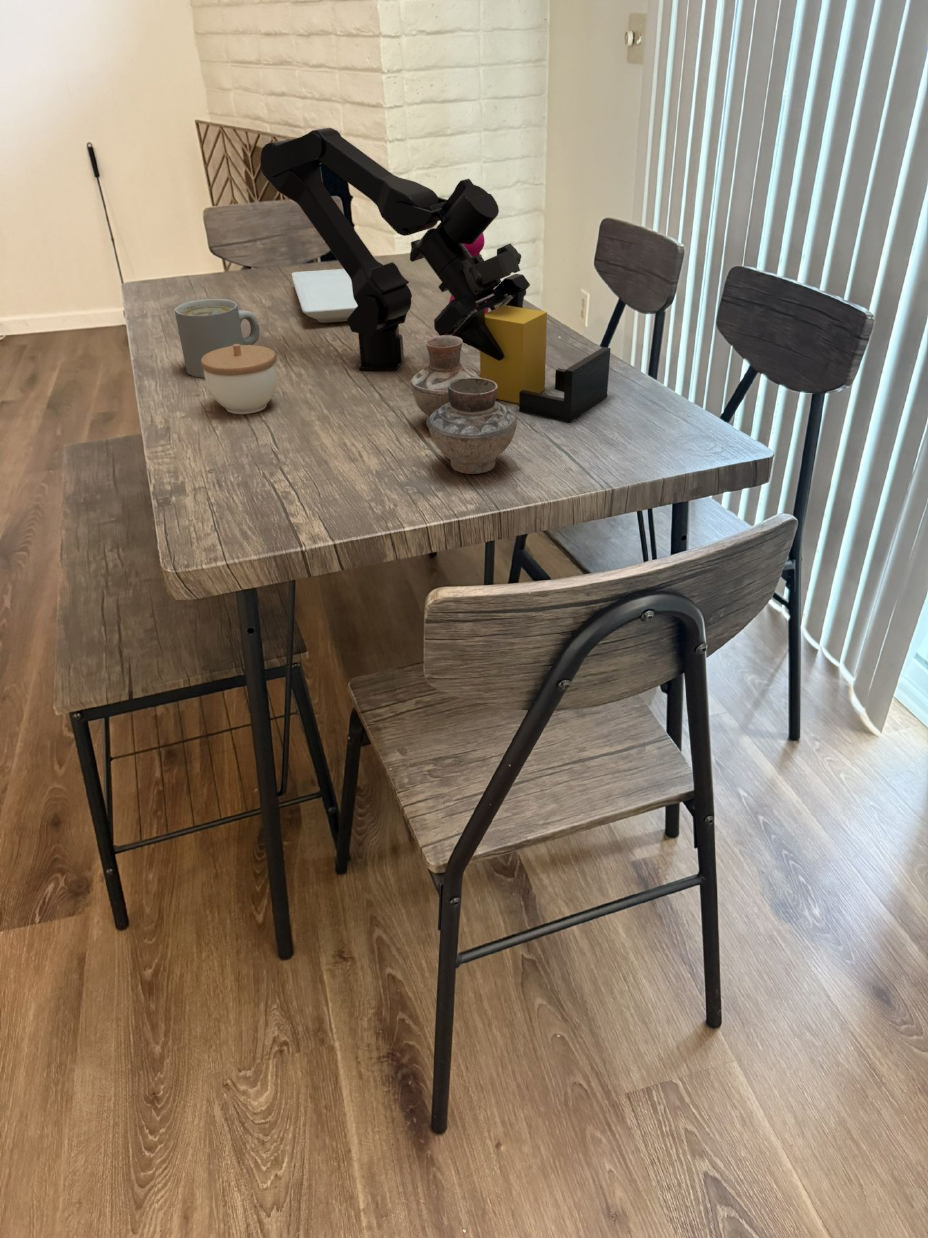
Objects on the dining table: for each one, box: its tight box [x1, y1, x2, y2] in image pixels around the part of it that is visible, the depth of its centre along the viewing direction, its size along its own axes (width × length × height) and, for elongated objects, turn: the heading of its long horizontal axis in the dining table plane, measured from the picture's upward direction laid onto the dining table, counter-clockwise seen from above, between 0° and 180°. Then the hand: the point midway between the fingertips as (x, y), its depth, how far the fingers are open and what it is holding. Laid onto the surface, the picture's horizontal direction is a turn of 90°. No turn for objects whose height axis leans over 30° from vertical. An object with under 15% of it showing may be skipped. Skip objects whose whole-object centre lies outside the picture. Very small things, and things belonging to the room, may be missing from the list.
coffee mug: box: [174, 298, 260, 379], centre depth 148 cm, size 13×10×10 cm
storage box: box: [479, 305, 548, 405], centre depth 134 cm, size 8×7×12 cm
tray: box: [291, 268, 358, 324], centre depth 179 cm, size 17×32×4 cm, turn 13°
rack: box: [518, 346, 611, 423], centre depth 131 cm, size 8×12×8 cm
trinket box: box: [201, 344, 278, 415], centre depth 132 cm, size 11×11×9 cm
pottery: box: [409, 335, 518, 475], centre depth 118 cm, size 11×25×12 cm, turn 15°
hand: (516, 351), depth 133 cm, fingers open, 8 cm apart
